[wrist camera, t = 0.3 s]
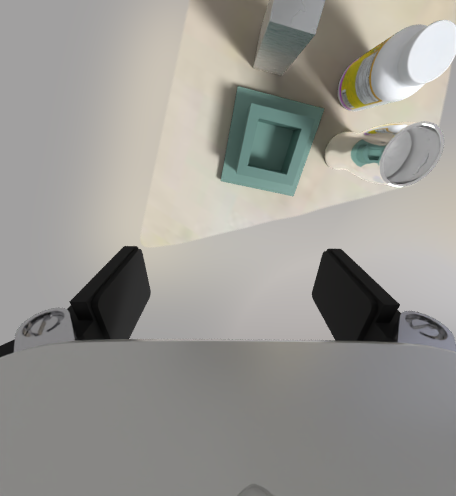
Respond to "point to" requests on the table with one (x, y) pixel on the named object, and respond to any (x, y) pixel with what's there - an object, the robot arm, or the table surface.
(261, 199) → the table surface
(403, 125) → the beer glass
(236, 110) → the well
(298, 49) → the silver square block
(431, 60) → the supplement bottle
